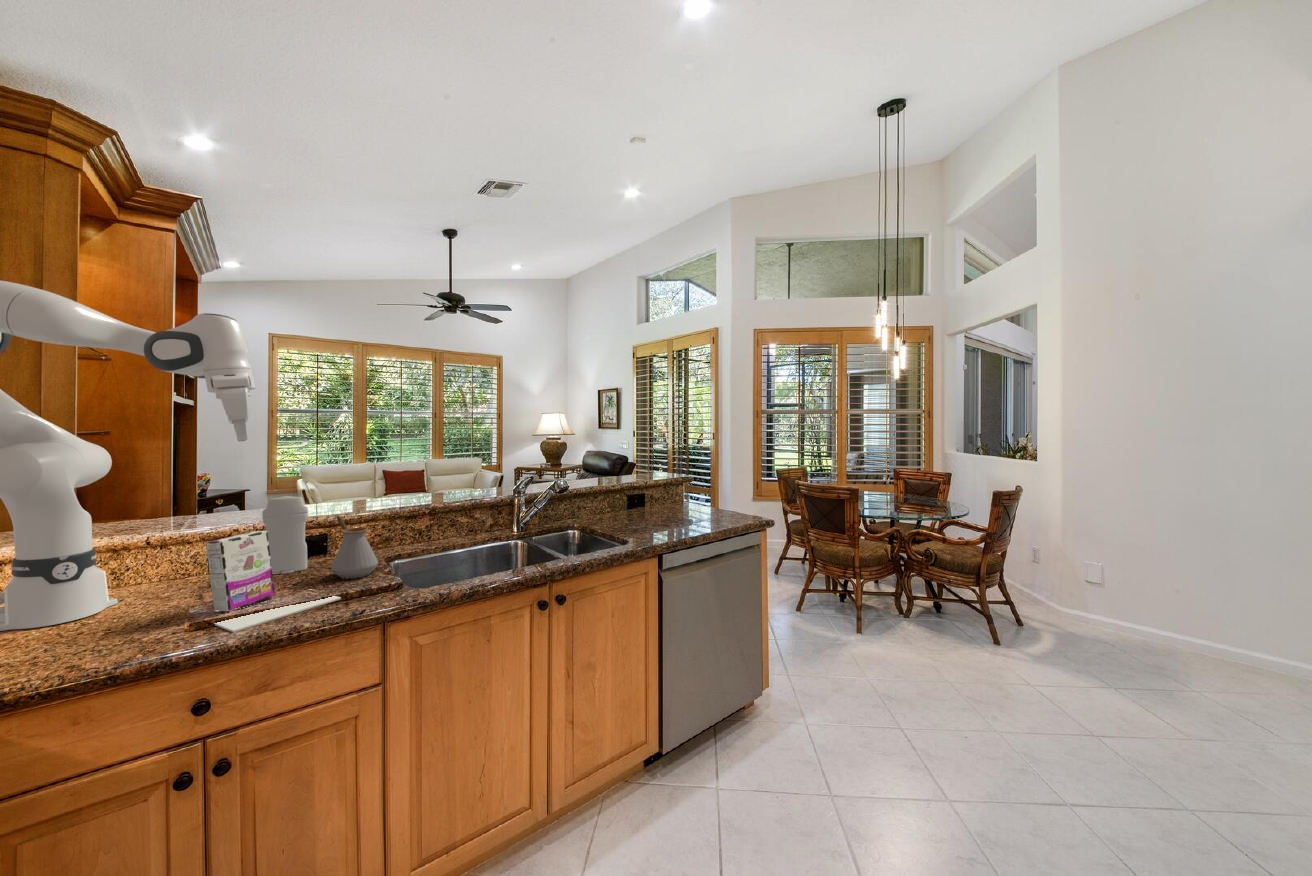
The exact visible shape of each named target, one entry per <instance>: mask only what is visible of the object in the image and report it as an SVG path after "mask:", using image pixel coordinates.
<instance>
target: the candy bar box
mask: <svg viewBox="0 0 1312 876" xmlns="http://www.w3.org/2000/svg"><path fill="white" fill-rule="evenodd" d="M205 546H206V554H207V555H206V556H207V562H208V570H209V571H208V572H209V581H210V587H211V596H212V605H213V611H214V610H222V611H223V610H224V611H230V610H233V609H235V608H238V607H242V608H245V607H247V606H246V605H248V606H250V605H252V603H253V604H257V602H258V603H259V602H260V601H264V600H267V599H270V598H271V597H274V596H276V595H275V593H276V592H275V585H274V577H273V576H274V575H272V566H271V558H270V549H269V541H268V533H267V531H266V530H256V531H250V532H246V533H241V534H237V535H232V536H229V537H228V536H227V537H224V538H219V539H215V540H211V541H210V540H209V541H206V542H205ZM249 604H250V605H249ZM244 606H245V607H244Z"/></svg>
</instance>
